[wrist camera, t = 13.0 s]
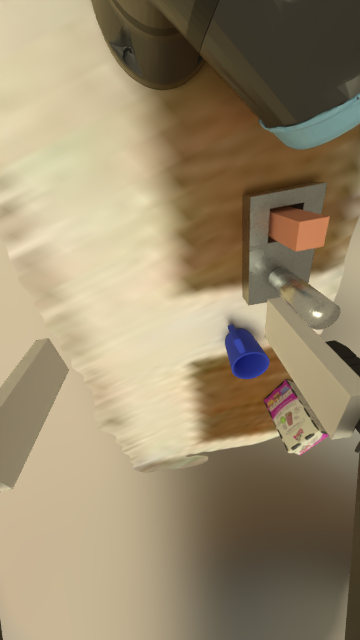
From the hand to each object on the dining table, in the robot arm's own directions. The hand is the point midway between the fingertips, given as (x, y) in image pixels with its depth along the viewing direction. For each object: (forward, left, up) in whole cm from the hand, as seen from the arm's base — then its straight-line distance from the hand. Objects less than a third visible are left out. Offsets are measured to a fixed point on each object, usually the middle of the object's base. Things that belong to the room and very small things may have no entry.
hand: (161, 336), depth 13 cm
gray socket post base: (+7, +21, -32) cm, 39 cm away
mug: (+27, +13, -32) cm, 44 cm away
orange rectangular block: (+2, +21, -32) cm, 38 cm away
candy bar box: (+54, +27, -32) cm, 68 cm away
